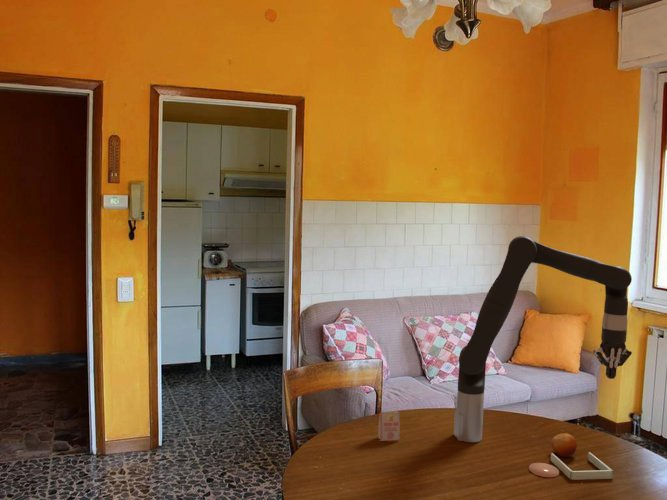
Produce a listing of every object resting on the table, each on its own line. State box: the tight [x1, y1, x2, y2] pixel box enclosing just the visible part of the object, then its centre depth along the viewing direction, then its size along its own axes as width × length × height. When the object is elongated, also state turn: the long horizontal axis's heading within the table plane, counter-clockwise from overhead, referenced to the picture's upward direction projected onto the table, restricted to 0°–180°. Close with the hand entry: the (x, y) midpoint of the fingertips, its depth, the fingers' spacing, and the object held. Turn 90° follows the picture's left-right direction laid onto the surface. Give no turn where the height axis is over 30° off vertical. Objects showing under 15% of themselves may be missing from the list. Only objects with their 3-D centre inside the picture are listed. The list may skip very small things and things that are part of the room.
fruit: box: [550, 432, 578, 458], centre depth 208 cm, size 8×8×8 cm
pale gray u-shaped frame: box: [550, 451, 614, 481], centre depth 197 cm, size 14×14×2 cm
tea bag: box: [377, 411, 401, 442], centre depth 216 cm, size 4×7×10 cm, turn 98°
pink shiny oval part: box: [528, 462, 560, 478], centre depth 195 cm, size 9×9×1 cm
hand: (610, 378), depth 205 cm, fingers closed
